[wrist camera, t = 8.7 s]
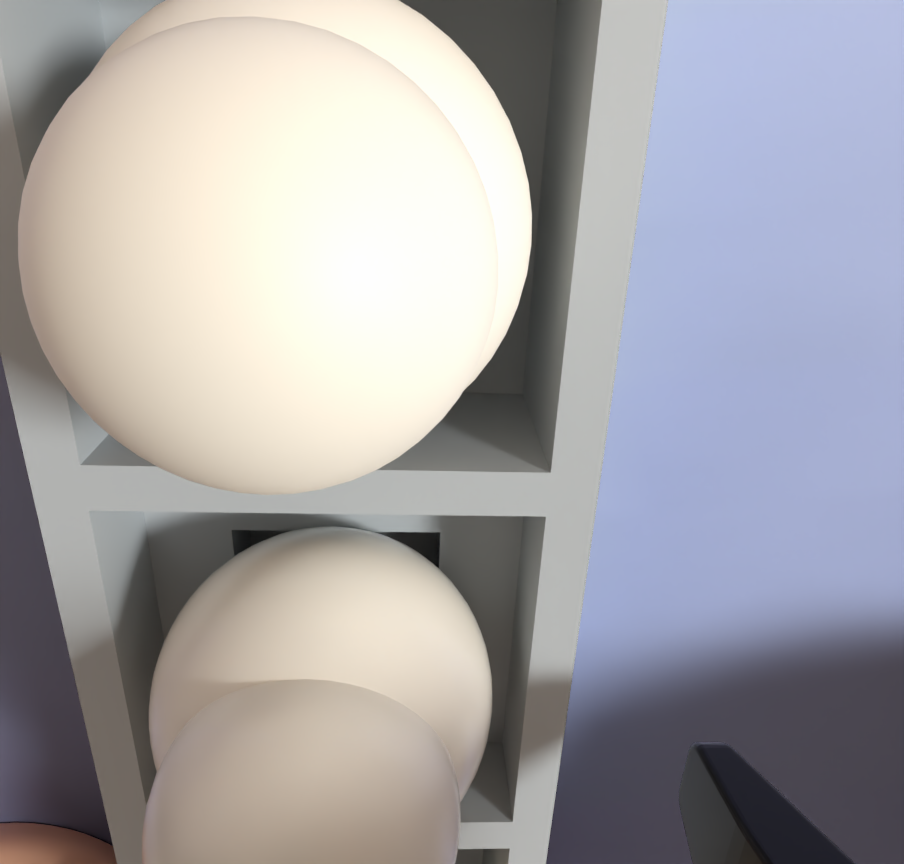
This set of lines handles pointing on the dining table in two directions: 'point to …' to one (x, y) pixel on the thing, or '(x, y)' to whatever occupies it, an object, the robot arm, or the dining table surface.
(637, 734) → the dining table surface
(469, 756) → the egg
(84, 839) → the egg cup
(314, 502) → the egg carton
